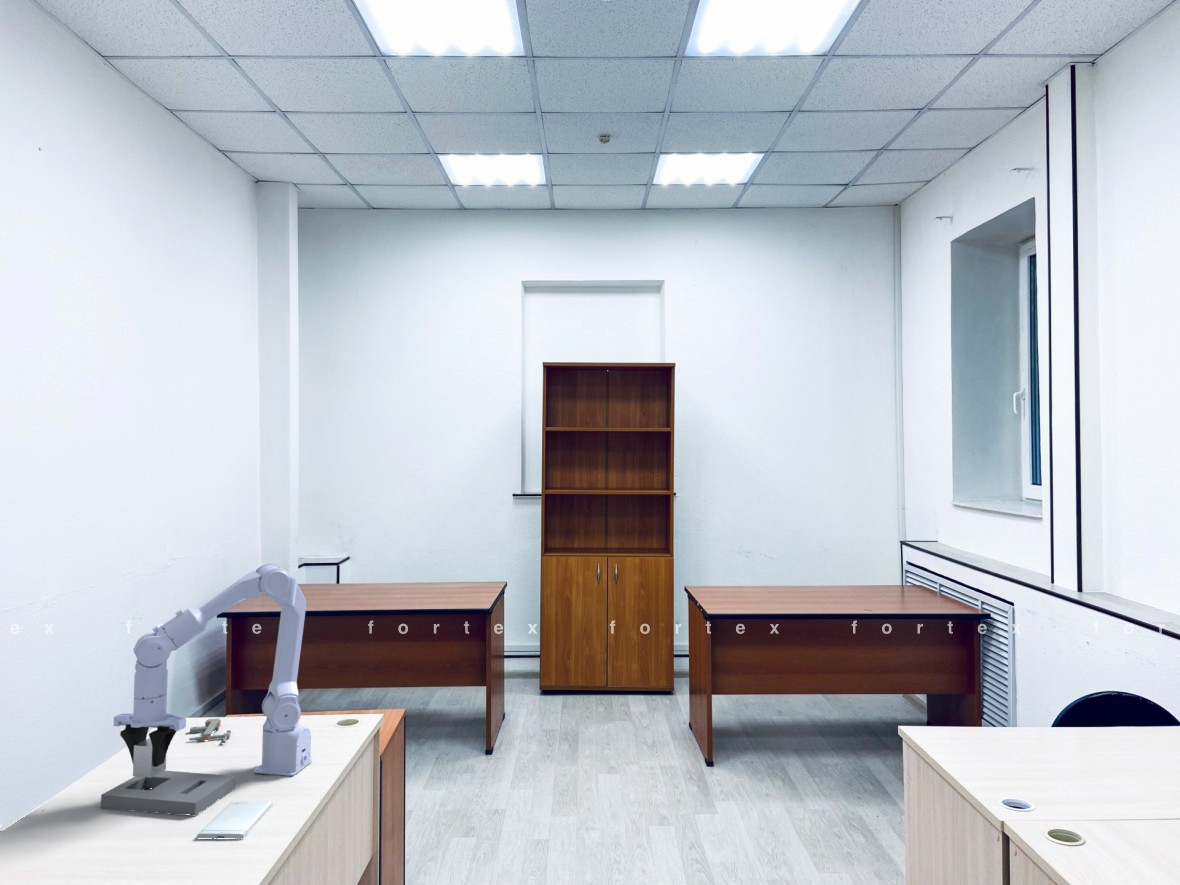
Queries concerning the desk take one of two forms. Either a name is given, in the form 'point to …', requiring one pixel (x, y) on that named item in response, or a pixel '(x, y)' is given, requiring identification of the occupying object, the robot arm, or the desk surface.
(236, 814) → the hard drive
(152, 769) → the square bit
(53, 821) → the desk surface
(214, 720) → the clamp
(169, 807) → the plate
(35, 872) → the desk surface
